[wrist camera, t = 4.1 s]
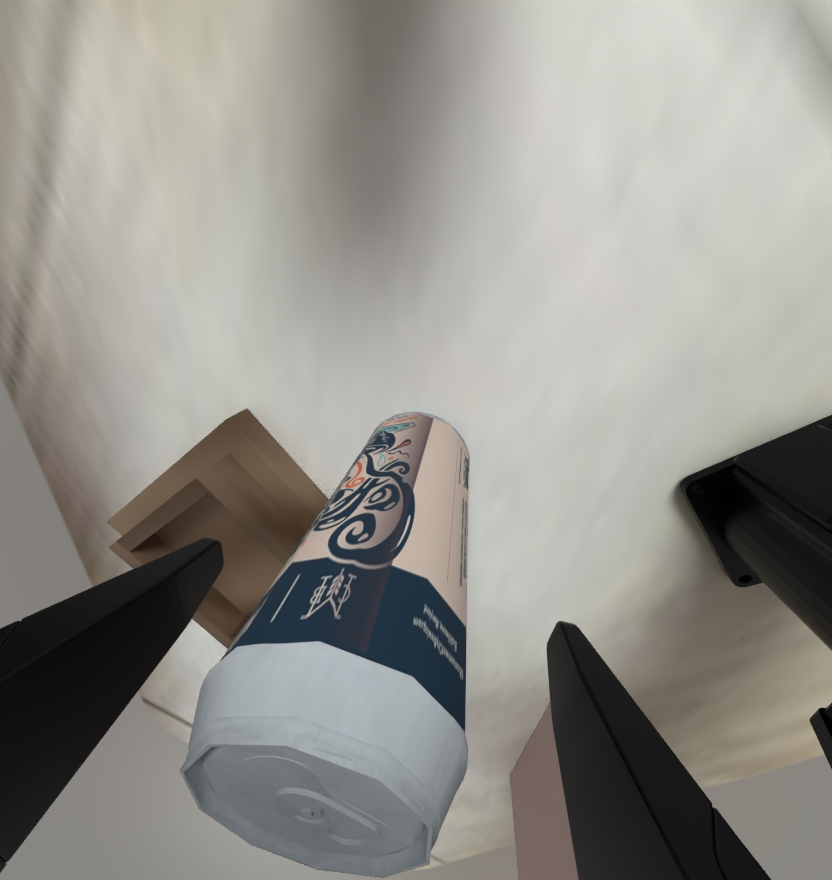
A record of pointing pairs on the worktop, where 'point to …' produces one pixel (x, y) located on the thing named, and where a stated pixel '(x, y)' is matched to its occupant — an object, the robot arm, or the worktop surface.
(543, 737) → the greeting card
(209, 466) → the plinth
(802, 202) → the worktop surface
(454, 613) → the beer can
